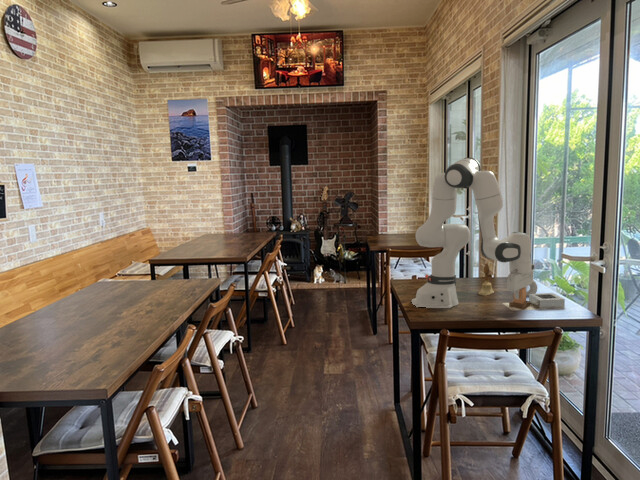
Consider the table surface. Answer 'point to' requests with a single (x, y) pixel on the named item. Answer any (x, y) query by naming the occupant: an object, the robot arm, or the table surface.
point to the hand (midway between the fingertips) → (519, 297)
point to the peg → (521, 296)
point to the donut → (532, 288)
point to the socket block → (546, 300)
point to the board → (525, 308)
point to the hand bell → (486, 283)
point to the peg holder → (518, 305)
